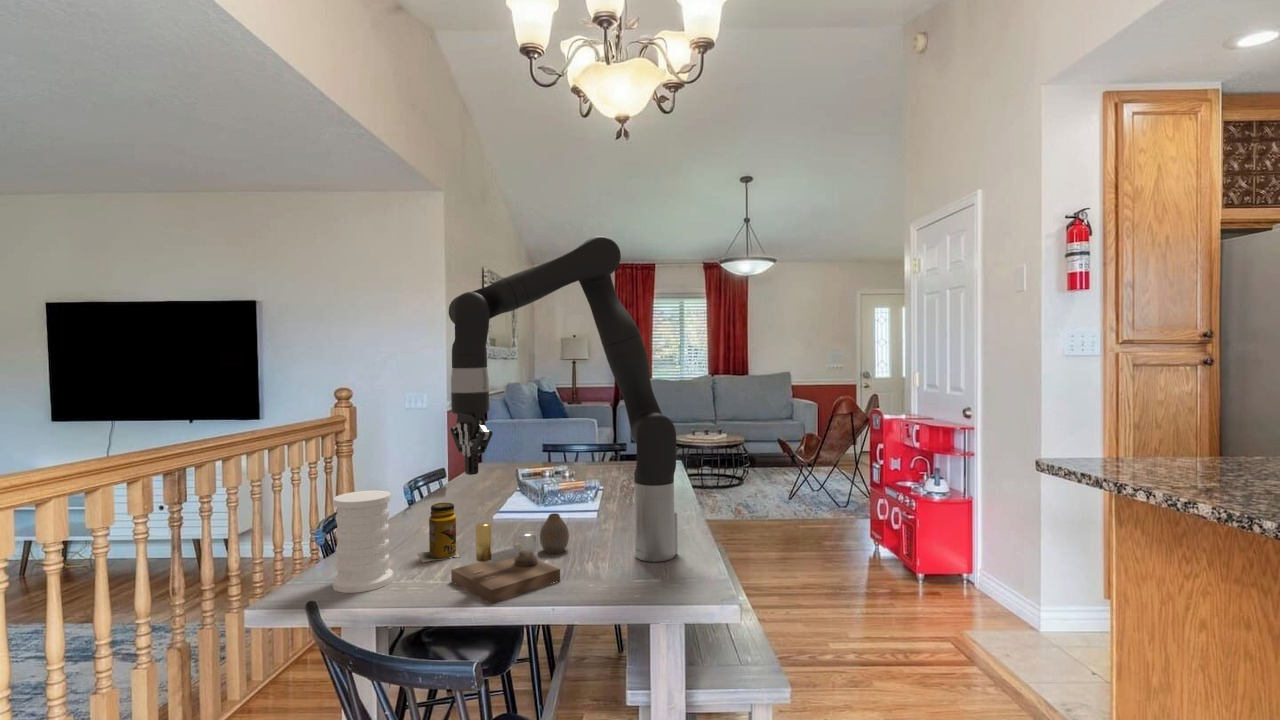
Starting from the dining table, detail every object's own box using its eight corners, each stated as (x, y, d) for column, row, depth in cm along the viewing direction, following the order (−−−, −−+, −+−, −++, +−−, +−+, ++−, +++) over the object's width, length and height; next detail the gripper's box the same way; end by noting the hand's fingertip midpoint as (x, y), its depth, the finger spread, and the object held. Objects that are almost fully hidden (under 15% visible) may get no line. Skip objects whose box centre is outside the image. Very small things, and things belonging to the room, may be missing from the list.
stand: (517, 562, 137) (517, 551, 137) (560, 580, 125) (560, 567, 125) (451, 581, 126) (451, 568, 126) (491, 603, 114) (491, 588, 114)
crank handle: (529, 556, 133) (528, 510, 133) (542, 561, 129) (542, 514, 129) (471, 572, 123) (470, 523, 123) (483, 579, 119) (483, 528, 119)
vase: (563, 556, 141) (563, 518, 141) (535, 554, 143) (535, 517, 143) (572, 547, 148) (572, 511, 148) (546, 546, 149) (545, 510, 149)
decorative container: (359, 596, 118) (358, 504, 118) (319, 587, 123) (318, 499, 123) (405, 577, 129) (404, 492, 129) (366, 569, 134) (365, 488, 134)
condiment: (460, 557, 141) (459, 506, 141) (421, 563, 138) (421, 510, 138) (455, 548, 148) (454, 499, 148) (418, 554, 144) (417, 503, 144)
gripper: (503, 389, 123) (505, 475, 123) (469, 388, 132) (471, 467, 132) (470, 391, 118) (472, 481, 118) (437, 390, 127) (439, 473, 127)
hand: (471, 473), depth 125 cm, fingers closed
